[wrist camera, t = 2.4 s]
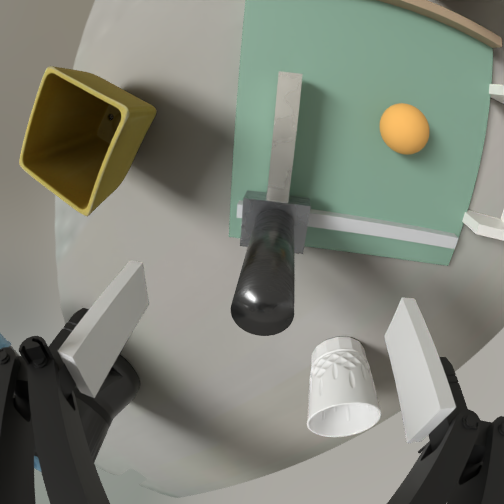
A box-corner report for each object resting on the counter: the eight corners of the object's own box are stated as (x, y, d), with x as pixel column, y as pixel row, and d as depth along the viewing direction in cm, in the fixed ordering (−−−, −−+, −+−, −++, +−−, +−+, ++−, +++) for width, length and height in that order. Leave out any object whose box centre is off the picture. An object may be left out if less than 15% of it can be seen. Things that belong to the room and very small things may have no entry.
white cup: (295, 361, 36) (292, 428, 27) (332, 323, 32) (339, 395, 24) (342, 379, 37) (347, 441, 28) (380, 345, 33) (396, 411, 25)
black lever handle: (244, 232, 26) (210, 334, 15) (257, 72, 19) (220, 41, 8) (302, 239, 26) (306, 347, 15) (323, 80, 19) (361, 56, 8)
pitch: (231, 231, 28) (225, 244, 26) (250, -22, 17) (245, -34, 14) (443, 259, 27) (454, 274, 24) (486, 40, 15) (501, 38, 13)
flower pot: (77, 142, 25) (16, 166, 18) (109, 66, 21) (45, 64, 14) (140, 183, 27) (87, 219, 19) (181, 103, 23) (131, 109, 15)
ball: (370, 144, 22) (384, 152, 18) (376, 97, 20) (392, 97, 16) (413, 154, 21) (432, 164, 18) (420, 109, 19) (441, 112, 16)
